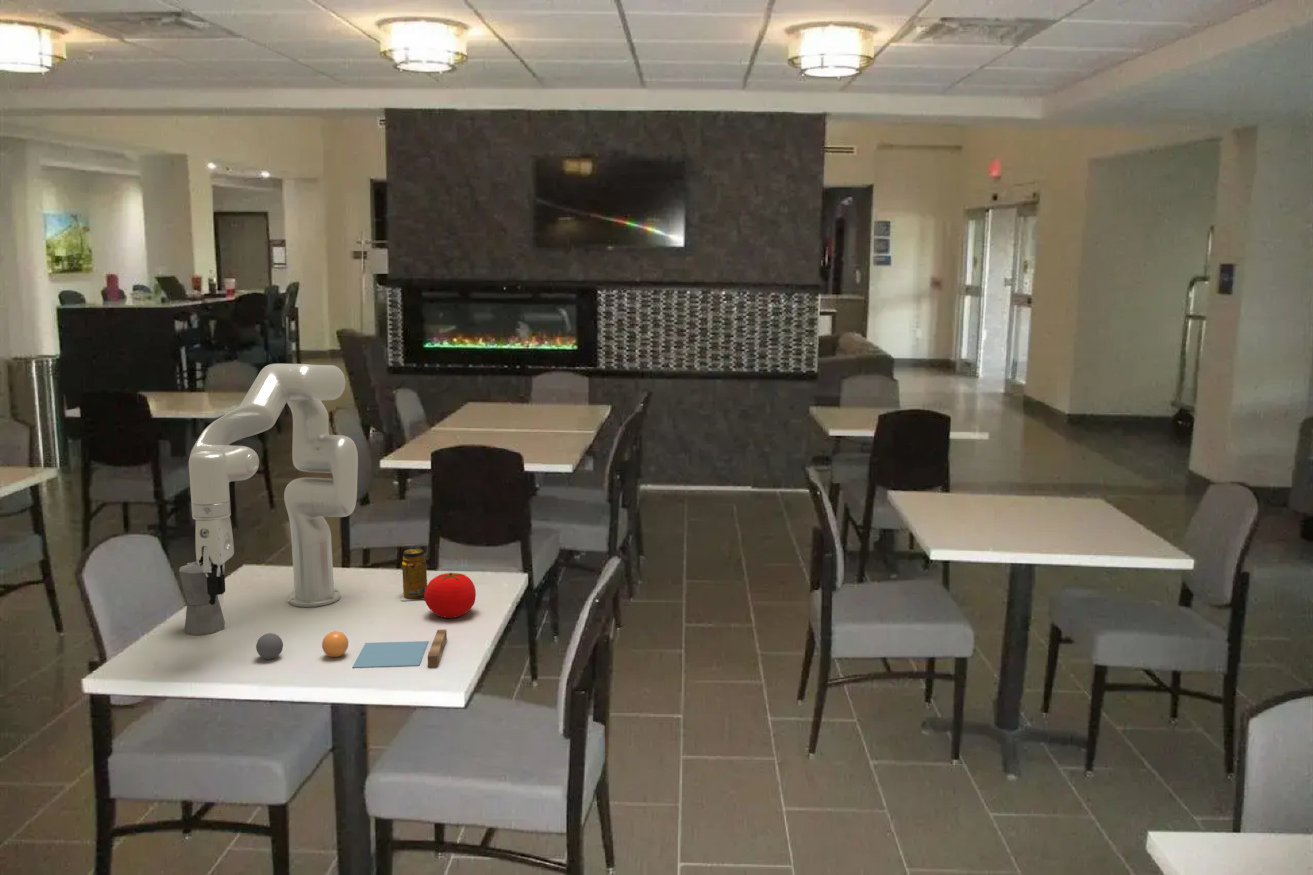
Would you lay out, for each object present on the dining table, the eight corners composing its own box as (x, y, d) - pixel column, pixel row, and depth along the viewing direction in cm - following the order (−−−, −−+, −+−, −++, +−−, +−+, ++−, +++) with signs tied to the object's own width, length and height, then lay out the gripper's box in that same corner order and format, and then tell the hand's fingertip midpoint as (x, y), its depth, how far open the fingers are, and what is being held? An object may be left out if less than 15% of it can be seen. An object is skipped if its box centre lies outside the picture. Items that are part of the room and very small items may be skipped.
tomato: (467, 624, 246) (466, 581, 244) (418, 621, 248) (416, 579, 246) (482, 608, 257) (481, 567, 255) (435, 605, 259) (434, 565, 257)
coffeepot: (174, 626, 245) (168, 552, 242) (214, 616, 251) (209, 545, 248) (198, 643, 234) (191, 567, 231) (239, 633, 240) (234, 558, 237)
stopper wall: (437, 640, 236) (437, 629, 236) (446, 639, 236) (446, 629, 236) (428, 667, 220) (427, 656, 220) (437, 667, 220) (437, 656, 220)
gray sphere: (261, 653, 228) (259, 629, 227) (286, 652, 228) (285, 629, 227) (253, 663, 223) (251, 638, 222) (279, 662, 223) (278, 638, 222)
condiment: (403, 592, 270) (401, 548, 268) (436, 590, 271) (434, 546, 269) (401, 601, 263) (398, 556, 260) (435, 599, 264) (433, 554, 262)
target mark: (365, 643, 234) (365, 642, 234) (428, 641, 235) (428, 641, 235) (352, 667, 220) (352, 667, 220) (419, 665, 221) (419, 665, 221)
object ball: (326, 651, 229) (324, 628, 228) (351, 651, 229) (350, 627, 228) (320, 661, 224) (318, 637, 223) (346, 660, 224) (344, 636, 223)
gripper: (217, 517, 212) (222, 604, 215) (240, 502, 227) (245, 583, 229) (179, 518, 211) (185, 604, 214) (205, 502, 226) (210, 583, 229)
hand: (216, 593), depth 222 cm, fingers closed
